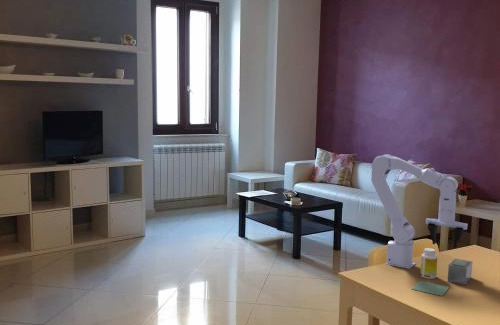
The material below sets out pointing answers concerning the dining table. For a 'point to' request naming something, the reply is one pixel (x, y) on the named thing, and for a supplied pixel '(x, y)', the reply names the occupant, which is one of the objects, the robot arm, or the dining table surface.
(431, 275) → the supplement bottle
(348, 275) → the dining table surface
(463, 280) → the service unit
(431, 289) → the pad
